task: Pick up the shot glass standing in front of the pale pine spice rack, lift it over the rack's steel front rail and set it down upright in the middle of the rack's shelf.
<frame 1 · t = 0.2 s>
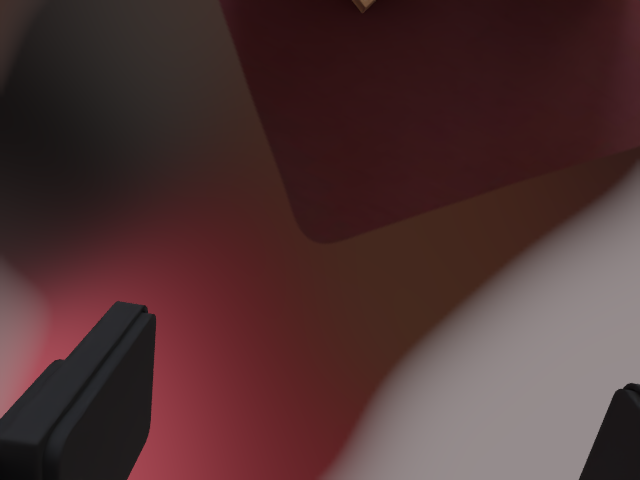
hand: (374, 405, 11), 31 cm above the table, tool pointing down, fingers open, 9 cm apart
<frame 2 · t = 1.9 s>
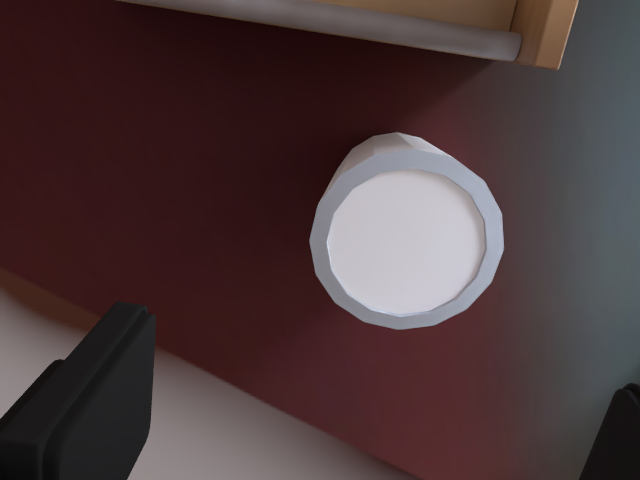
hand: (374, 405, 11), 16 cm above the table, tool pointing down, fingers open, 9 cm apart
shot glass: (392, 191, 26), on the table
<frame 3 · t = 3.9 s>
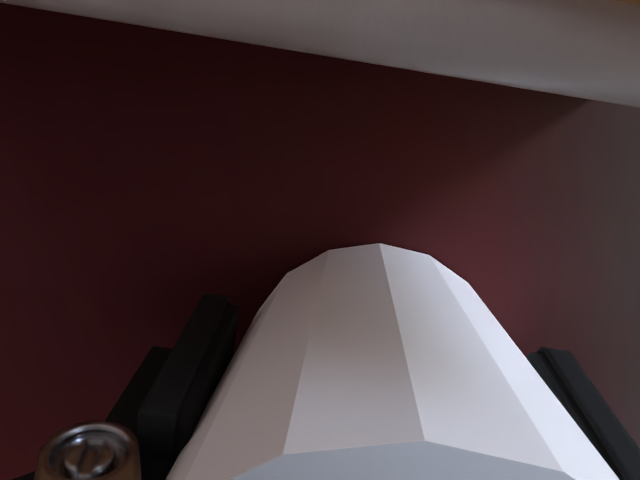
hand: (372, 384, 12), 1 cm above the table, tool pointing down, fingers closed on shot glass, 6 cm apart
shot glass: (370, 352, 13), on the table, touching gripper
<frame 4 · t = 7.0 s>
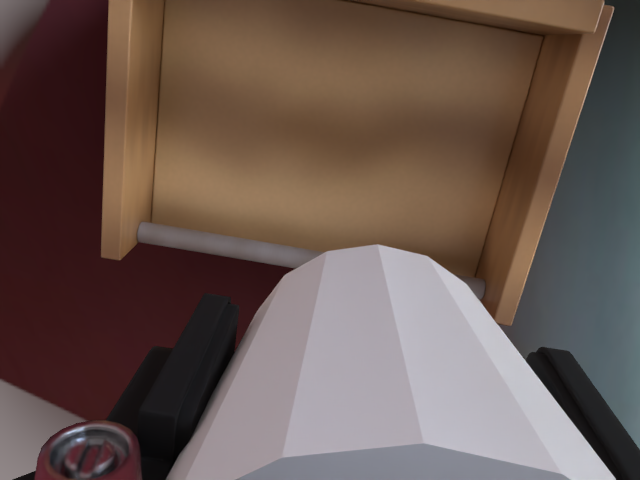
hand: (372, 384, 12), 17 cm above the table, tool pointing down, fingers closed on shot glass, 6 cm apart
spice rack: (334, 127, 27), on the table
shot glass: (368, 353, 13), point 16 cm above the table, touching gripper
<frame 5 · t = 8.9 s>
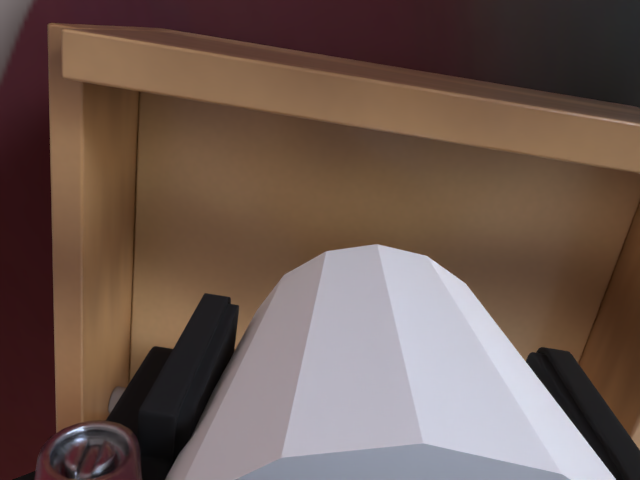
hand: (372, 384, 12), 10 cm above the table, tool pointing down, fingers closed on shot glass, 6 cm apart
spice rack: (362, 240, 21), on the table
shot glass: (368, 352, 13), point 9 cm above the table, touching gripper
when the fingers open (5 cm above the table, at t = 10.6 s): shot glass stays where it is, resting on spice rack.
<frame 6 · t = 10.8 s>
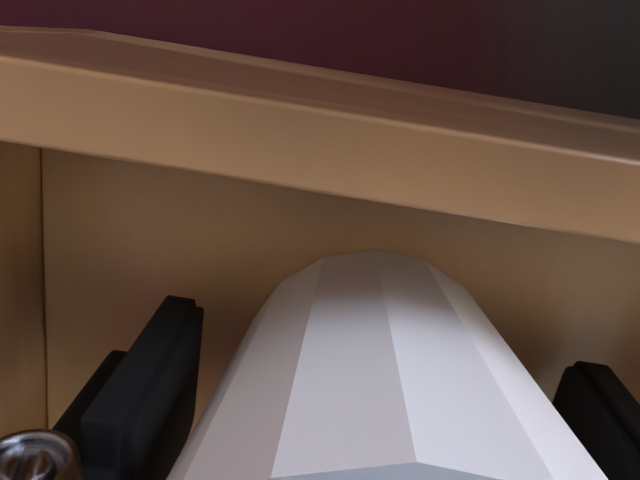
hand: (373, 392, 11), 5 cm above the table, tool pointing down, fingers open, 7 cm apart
spice rack: (360, 302, 16), on the table
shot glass: (367, 359, 13), point 4 cm above the table, touching spice rack
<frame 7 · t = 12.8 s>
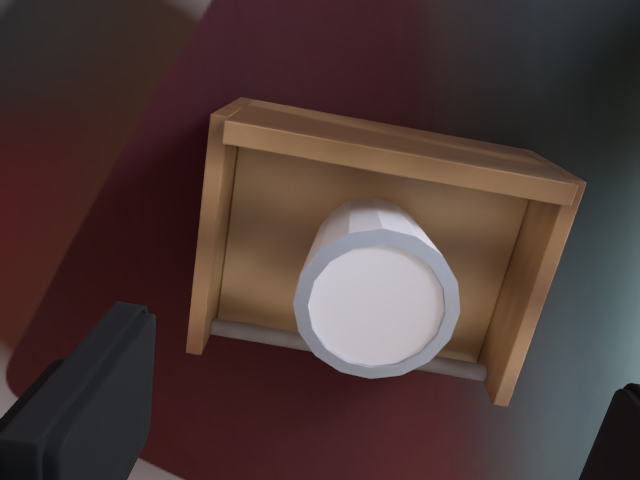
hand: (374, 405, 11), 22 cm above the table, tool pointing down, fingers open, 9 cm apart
spice rack: (363, 231, 33), on the table
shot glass: (368, 246, 29), point 4 cm above the table, touching spice rack
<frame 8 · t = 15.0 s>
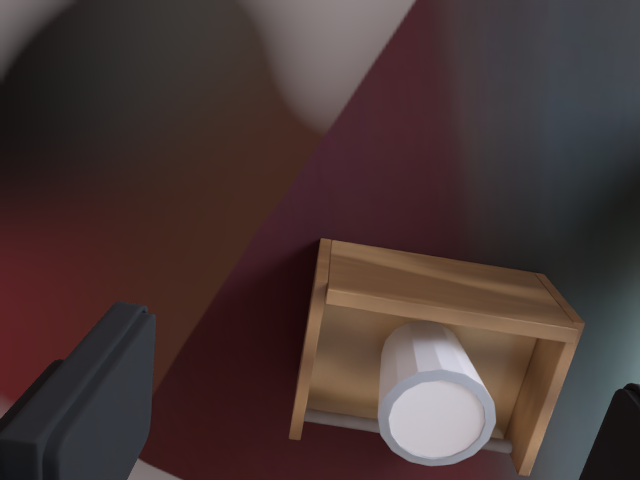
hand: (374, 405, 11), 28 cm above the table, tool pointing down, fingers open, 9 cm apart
spice rack: (413, 332, 42), on the table
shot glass: (421, 354, 39), point 4 cm above the table, touching spice rack
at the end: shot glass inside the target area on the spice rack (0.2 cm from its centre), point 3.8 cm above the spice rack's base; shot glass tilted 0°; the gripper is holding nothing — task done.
